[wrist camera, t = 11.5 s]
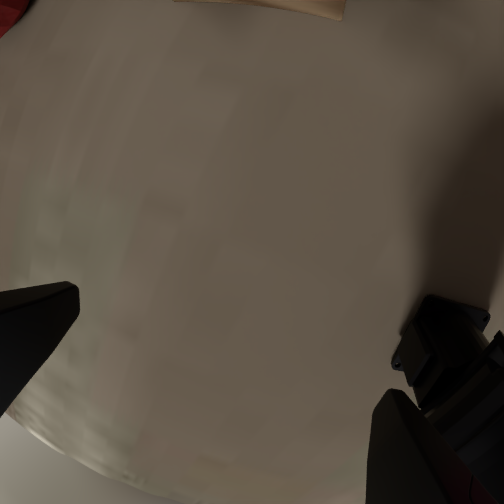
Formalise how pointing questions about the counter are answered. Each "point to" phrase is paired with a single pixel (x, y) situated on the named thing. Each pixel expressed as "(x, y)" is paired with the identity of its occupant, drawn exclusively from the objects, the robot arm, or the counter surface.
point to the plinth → (294, 6)
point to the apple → (11, 13)
